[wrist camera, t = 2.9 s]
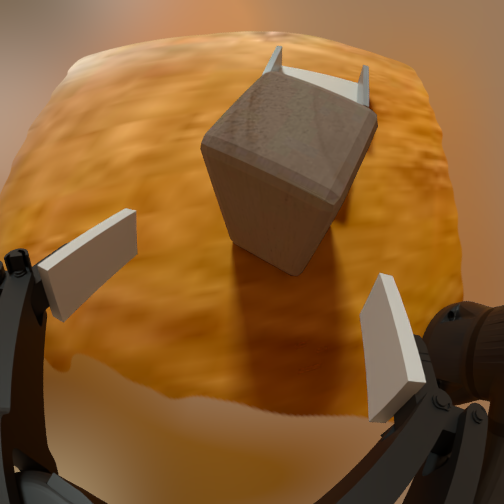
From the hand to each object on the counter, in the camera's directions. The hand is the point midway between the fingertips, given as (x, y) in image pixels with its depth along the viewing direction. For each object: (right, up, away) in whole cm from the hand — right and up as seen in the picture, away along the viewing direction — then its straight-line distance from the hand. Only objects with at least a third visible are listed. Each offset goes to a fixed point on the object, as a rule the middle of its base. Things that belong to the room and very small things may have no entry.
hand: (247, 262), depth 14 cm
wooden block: (+4, +3, +22) cm, 23 cm away
